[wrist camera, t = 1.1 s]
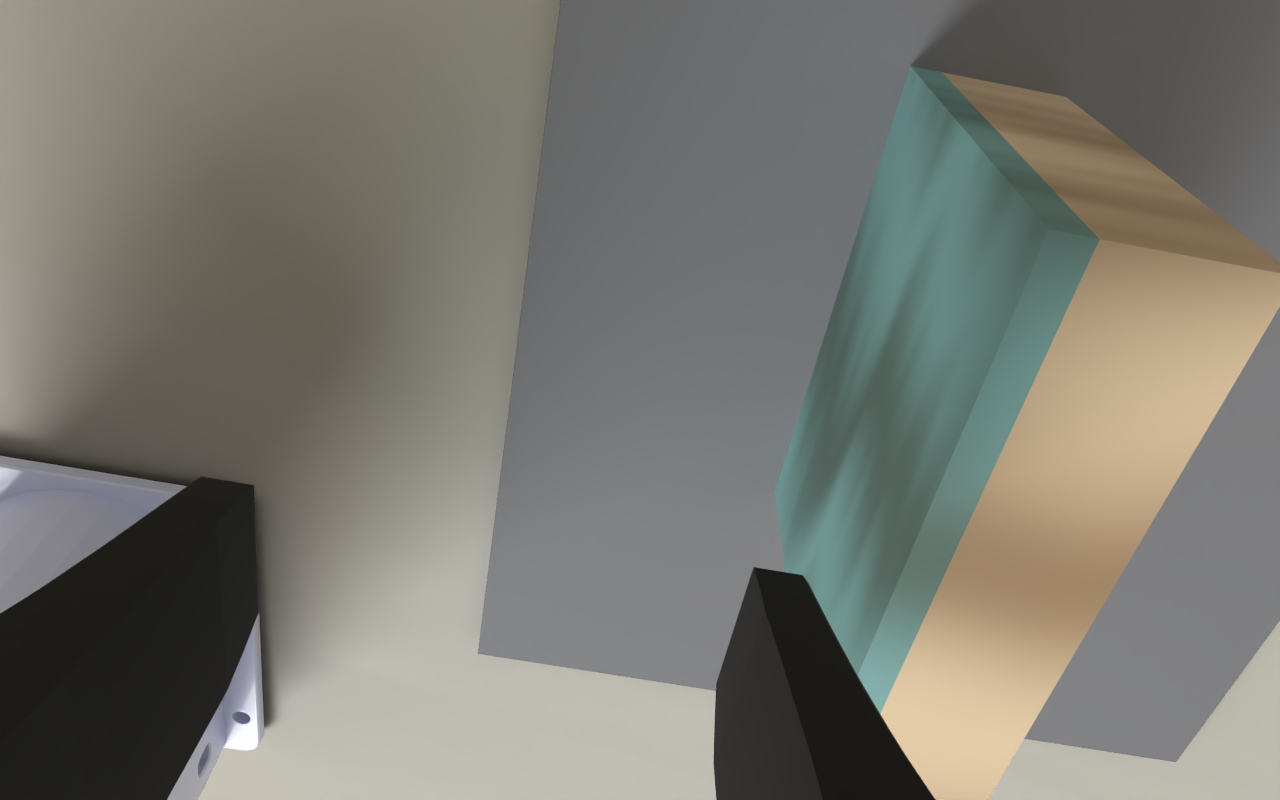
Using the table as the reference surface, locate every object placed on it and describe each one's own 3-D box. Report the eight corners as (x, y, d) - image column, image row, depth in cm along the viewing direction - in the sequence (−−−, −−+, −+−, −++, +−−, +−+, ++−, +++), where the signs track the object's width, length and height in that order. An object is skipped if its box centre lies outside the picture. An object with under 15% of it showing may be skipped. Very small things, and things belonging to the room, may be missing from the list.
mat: (1168, 747, 28) (1175, 762, 28) (480, 640, 27) (477, 653, 26) (1865, -226, 15) (1900, -227, 15) (629, -511, 14) (627, -521, 14)
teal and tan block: (896, 511, 23) (984, 805, 16) (775, 491, 23) (812, 779, 16) (1066, 96, 18) (1297, 276, 11) (910, 65, 18) (1048, 229, 11)
